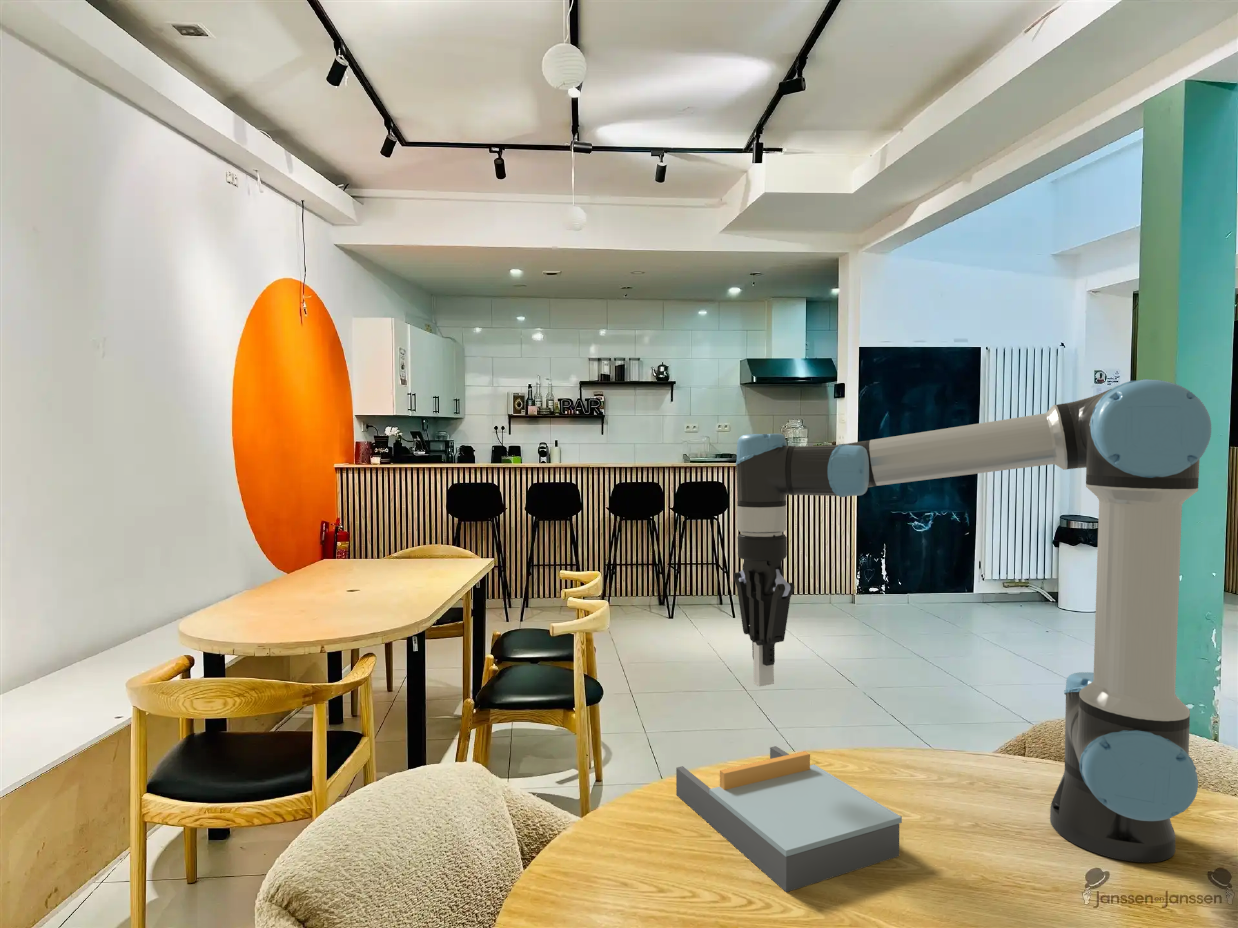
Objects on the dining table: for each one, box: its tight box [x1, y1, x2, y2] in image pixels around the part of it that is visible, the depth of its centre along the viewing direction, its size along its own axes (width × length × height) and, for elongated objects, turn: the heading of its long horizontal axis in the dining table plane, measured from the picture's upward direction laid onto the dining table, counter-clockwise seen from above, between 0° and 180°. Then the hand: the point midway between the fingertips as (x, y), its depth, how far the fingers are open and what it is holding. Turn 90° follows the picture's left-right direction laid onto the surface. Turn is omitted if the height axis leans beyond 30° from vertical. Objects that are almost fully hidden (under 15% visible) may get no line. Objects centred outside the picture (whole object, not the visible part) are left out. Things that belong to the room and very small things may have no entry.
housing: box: [675, 745, 900, 893], centre depth 111 cm, size 29×20×4 cm
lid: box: [709, 750, 903, 857], centre depth 106 cm, size 18×20×3 cm
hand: (763, 683), depth 115 cm, fingers closed
